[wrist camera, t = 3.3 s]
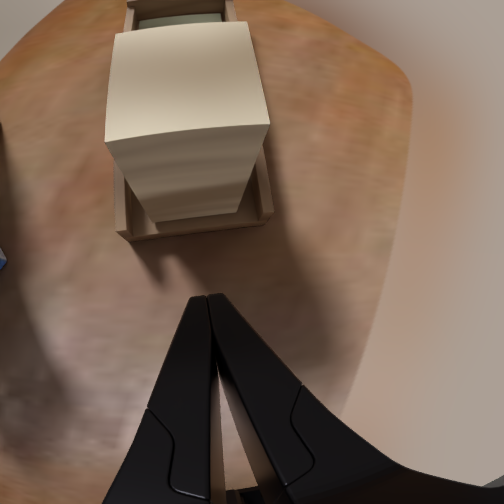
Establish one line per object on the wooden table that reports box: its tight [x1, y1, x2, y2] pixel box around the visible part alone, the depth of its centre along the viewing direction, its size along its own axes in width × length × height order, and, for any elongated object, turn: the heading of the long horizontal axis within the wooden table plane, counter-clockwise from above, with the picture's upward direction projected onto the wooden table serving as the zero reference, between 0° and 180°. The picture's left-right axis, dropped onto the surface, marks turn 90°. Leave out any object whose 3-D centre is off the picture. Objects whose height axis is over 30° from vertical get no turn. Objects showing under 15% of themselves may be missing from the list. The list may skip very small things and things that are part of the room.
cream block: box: [105, 22, 270, 223], centre depth 11 cm, size 4×4×8 cm
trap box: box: [114, 0, 275, 242], centre depth 15 cm, size 16×7×3 cm, turn 9°
